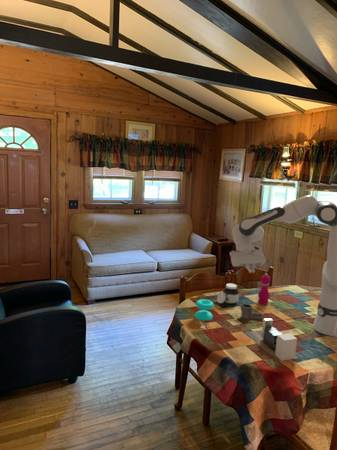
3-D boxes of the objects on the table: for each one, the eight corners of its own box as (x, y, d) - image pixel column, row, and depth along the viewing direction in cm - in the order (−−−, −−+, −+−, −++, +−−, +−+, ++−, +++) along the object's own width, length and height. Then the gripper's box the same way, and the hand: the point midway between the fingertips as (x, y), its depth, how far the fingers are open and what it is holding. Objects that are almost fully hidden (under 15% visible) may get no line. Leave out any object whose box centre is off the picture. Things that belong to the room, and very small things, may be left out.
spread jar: (239, 303, 221) (241, 286, 218) (230, 308, 212) (232, 290, 210) (223, 297, 228) (225, 281, 226) (214, 302, 220) (215, 284, 218)
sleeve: (271, 340, 173) (273, 326, 172) (281, 349, 166) (283, 334, 164) (263, 341, 172) (264, 327, 170) (272, 350, 164) (274, 335, 163)
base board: (266, 331, 185) (266, 329, 185) (299, 359, 159) (299, 357, 159) (244, 333, 181) (244, 331, 181) (275, 363, 155) (275, 361, 155)
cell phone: (204, 322, 192) (204, 320, 192) (236, 329, 186) (236, 328, 186) (199, 328, 184) (200, 327, 184) (233, 336, 178) (233, 335, 177)
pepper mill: (266, 305, 219) (270, 275, 215) (255, 302, 223) (259, 273, 219) (270, 302, 225) (273, 273, 221) (259, 299, 229) (262, 270, 225)
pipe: (261, 323, 194) (263, 309, 193) (238, 319, 197) (240, 306, 196) (261, 318, 200) (262, 305, 199) (238, 315, 203) (240, 302, 201)
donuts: (199, 306, 188) (193, 298, 198) (198, 322, 190) (192, 314, 200) (216, 305, 191) (210, 298, 200) (215, 321, 193) (208, 314, 202)
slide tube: (268, 336, 175) (270, 318, 173) (290, 355, 158) (293, 335, 157) (261, 337, 174) (263, 318, 172) (283, 356, 157) (285, 336, 155)
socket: (287, 352, 163) (290, 333, 161) (294, 358, 158) (297, 338, 156) (275, 354, 161) (277, 334, 159) (281, 360, 156) (284, 340, 154)
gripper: (230, 248, 191) (237, 270, 184) (262, 247, 198) (270, 268, 190) (226, 253, 196) (233, 275, 189) (257, 252, 203) (265, 274, 195)
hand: (252, 272), depth 190 cm, fingers closed
